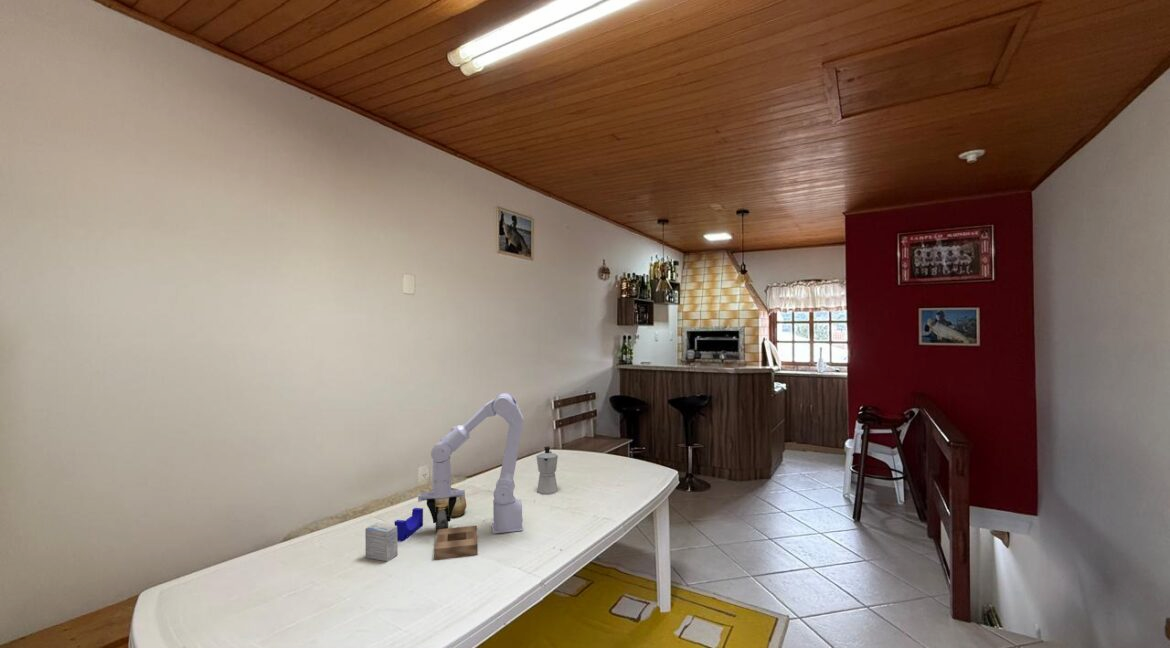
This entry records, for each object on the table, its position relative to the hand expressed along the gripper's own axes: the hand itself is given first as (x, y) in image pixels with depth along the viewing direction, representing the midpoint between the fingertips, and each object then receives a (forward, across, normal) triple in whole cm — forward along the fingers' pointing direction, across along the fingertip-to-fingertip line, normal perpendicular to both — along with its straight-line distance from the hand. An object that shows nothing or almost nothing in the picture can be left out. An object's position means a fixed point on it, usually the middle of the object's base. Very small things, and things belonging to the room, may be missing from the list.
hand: (441, 521), depth 153 cm
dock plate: (+3, -5, +13) cm, 14 cm away
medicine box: (+3, +16, +14) cm, 22 cm away
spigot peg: (+3, 0, 0) cm, 3 cm away
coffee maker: (+3, -40, -31) cm, 51 cm away
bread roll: (+4, -2, -17) cm, 17 cm away
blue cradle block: (+4, +11, -2) cm, 12 cm away
